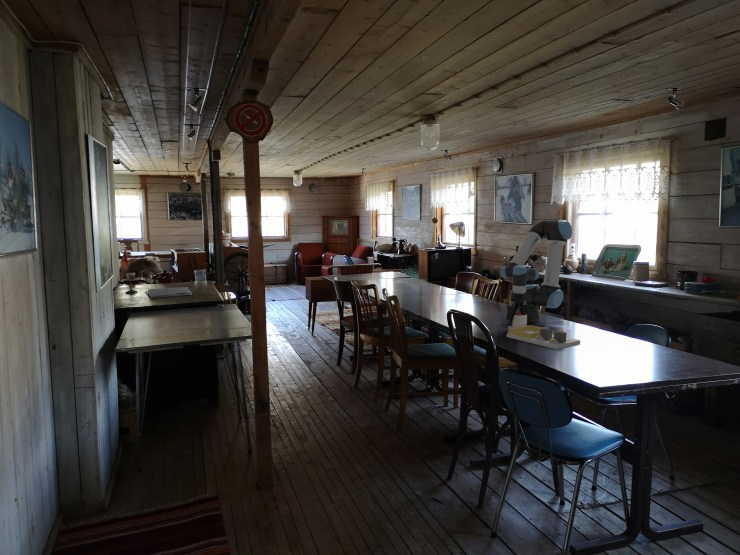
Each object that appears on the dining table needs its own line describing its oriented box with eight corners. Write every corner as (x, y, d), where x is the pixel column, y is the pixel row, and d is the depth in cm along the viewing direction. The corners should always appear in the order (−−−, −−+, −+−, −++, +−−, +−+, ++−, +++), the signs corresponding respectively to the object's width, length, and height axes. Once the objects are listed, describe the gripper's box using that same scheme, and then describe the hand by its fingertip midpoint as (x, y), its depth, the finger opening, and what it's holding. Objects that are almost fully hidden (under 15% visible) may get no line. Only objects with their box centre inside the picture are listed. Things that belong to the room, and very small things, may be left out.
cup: (524, 329, 310) (525, 312, 309) (527, 333, 300) (528, 315, 299) (507, 329, 311) (507, 312, 310) (510, 332, 301) (510, 315, 300)
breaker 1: (544, 337, 280) (545, 326, 280) (552, 338, 277) (552, 327, 276) (540, 338, 278) (540, 326, 277) (547, 339, 274) (547, 328, 274)
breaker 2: (558, 340, 273) (559, 329, 273) (566, 342, 270) (566, 331, 269) (553, 341, 271) (554, 330, 271) (561, 342, 267) (561, 332, 267)
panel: (530, 332, 302) (530, 324, 301) (580, 344, 275) (580, 335, 275) (506, 336, 291) (506, 328, 290) (555, 349, 264) (556, 340, 264)
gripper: (526, 290, 313) (525, 327, 315) (500, 293, 300) (499, 331, 303) (537, 292, 306) (535, 329, 309) (510, 294, 294) (509, 334, 296)
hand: (517, 330), depth 306 cm, fingers closed on cup, 10 cm apart
